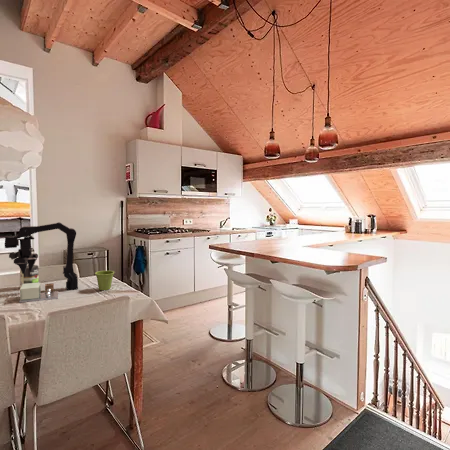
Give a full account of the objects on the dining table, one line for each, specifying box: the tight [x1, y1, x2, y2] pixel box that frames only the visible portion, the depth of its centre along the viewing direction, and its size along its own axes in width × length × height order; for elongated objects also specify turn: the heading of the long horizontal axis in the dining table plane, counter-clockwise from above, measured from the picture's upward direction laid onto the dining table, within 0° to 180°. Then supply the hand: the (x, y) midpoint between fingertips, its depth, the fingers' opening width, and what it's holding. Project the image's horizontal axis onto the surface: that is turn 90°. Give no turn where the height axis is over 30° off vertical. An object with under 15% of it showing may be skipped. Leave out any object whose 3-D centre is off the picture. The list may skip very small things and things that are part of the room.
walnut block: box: [44, 283, 55, 293], centre depth 192 cm, size 4×4×5 cm
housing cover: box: [19, 282, 42, 300], centre depth 178 cm, size 9×13×6 cm
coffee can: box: [19, 264, 40, 287], centre depth 201 cm, size 10×10×14 cm
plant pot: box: [95, 270, 115, 291], centre depth 200 cm, size 12×12×11 cm
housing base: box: [18, 289, 59, 304], centre depth 181 cm, size 19×13×4 cm
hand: (27, 272), depth 188 cm, fingers open, 9 cm apart
